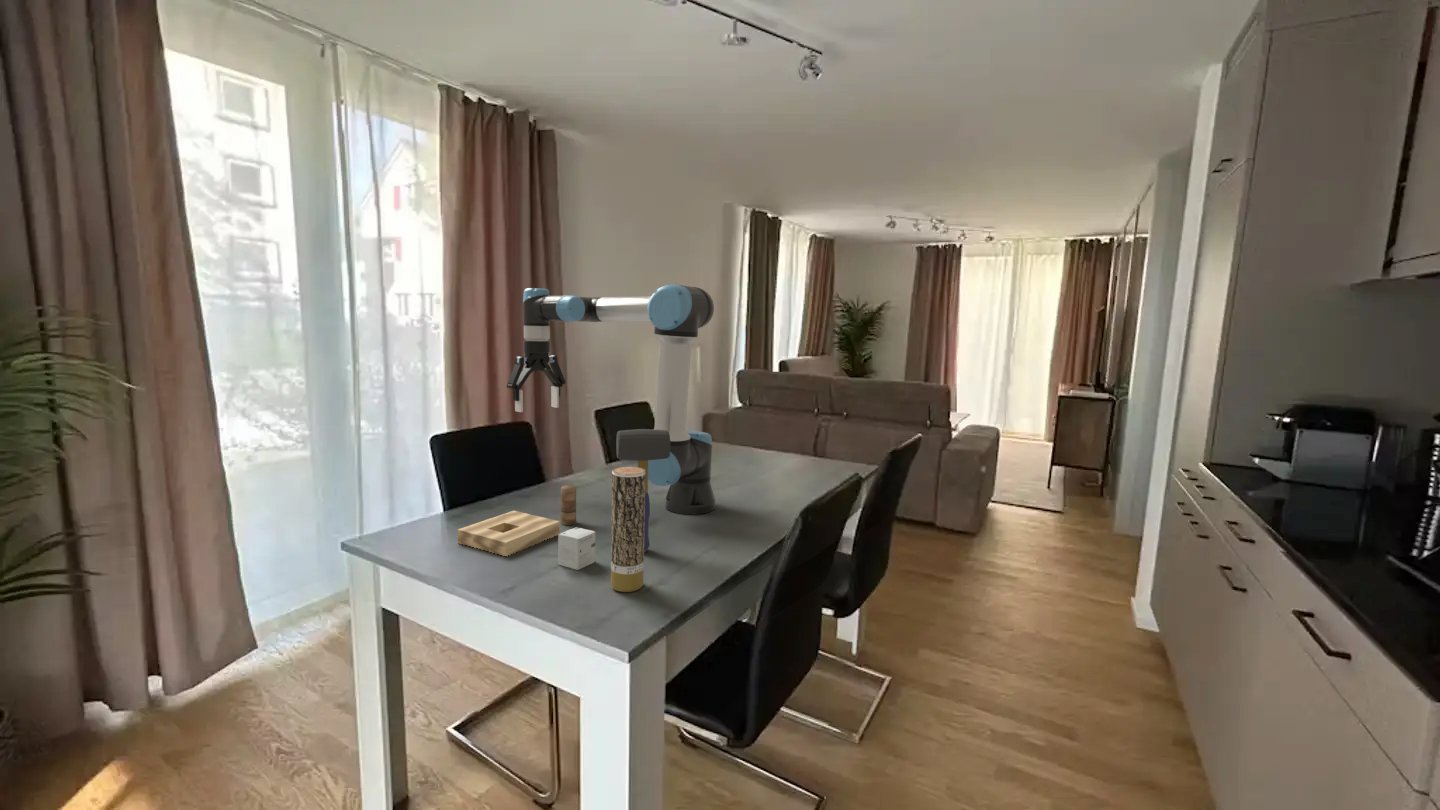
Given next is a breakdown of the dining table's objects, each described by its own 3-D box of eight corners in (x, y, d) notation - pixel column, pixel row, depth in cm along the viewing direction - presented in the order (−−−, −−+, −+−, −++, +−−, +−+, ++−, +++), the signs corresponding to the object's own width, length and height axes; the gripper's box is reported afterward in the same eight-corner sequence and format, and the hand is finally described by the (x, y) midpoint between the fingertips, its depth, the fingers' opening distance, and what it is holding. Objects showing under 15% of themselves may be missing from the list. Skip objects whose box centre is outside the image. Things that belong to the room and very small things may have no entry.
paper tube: (644, 580, 134) (646, 467, 131) (641, 594, 128) (644, 475, 124) (613, 579, 134) (614, 466, 131) (608, 593, 127) (609, 474, 124)
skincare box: (577, 570, 138) (578, 539, 137) (557, 564, 141) (557, 533, 140) (595, 562, 143) (596, 531, 142) (575, 556, 146) (575, 526, 145)
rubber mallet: (616, 558, 146) (618, 432, 141) (613, 546, 153) (615, 426, 149) (669, 555, 149) (672, 431, 145) (664, 544, 156) (666, 426, 152)
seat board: (559, 534, 160) (559, 521, 160) (505, 557, 144) (505, 542, 144) (513, 523, 167) (513, 510, 167) (457, 543, 152) (457, 529, 151)
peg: (579, 522, 170) (579, 486, 168) (569, 526, 166) (569, 490, 165) (567, 519, 172) (567, 484, 170) (557, 523, 168) (557, 487, 167)
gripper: (560, 339, 201) (561, 404, 204) (493, 339, 181) (494, 412, 184) (576, 340, 197) (576, 406, 200) (509, 341, 176) (510, 415, 179)
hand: (537, 409), depth 192 cm, fingers open, 13 cm apart
